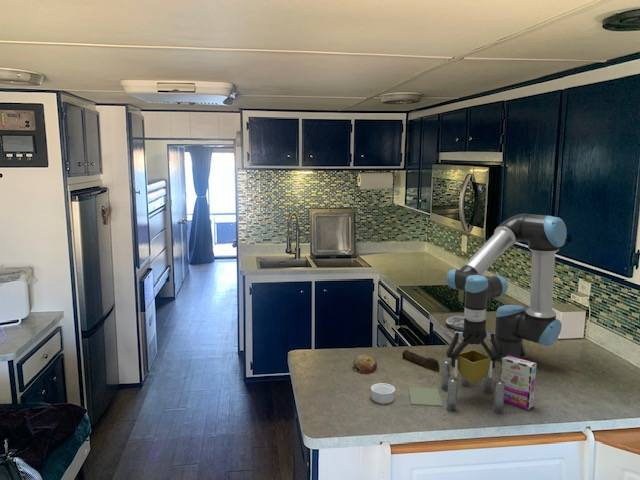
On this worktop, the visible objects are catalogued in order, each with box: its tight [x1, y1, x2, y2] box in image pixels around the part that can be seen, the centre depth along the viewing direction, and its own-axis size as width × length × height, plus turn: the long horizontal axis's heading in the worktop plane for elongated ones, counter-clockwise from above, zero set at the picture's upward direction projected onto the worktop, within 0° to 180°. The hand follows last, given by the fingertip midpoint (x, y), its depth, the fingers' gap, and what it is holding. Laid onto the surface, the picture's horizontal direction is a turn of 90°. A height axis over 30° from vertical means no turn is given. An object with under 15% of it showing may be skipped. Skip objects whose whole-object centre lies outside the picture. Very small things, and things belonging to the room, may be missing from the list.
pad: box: [408, 386, 443, 407], centre depth 189 cm, size 11×13×1 cm
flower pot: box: [457, 349, 491, 383], centre depth 185 cm, size 9×9×9 cm
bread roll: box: [352, 354, 378, 375], centre depth 213 cm, size 10×10×8 cm
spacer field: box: [440, 359, 505, 415], centre depth 188 cm, size 19×23×11 cm
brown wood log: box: [401, 349, 441, 372], centre depth 218 cm, size 19×4×5 cm, turn 37°
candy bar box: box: [499, 355, 538, 411], centre depth 183 cm, size 11×5×16 cm, turn 45°
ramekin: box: [370, 382, 396, 405], centre depth 187 cm, size 9×9×4 cm
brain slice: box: [445, 315, 465, 332], centre depth 265 cm, size 20×17×3 cm
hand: (472, 375), depth 186 cm, fingers closed on flower pot, 11 cm apart
